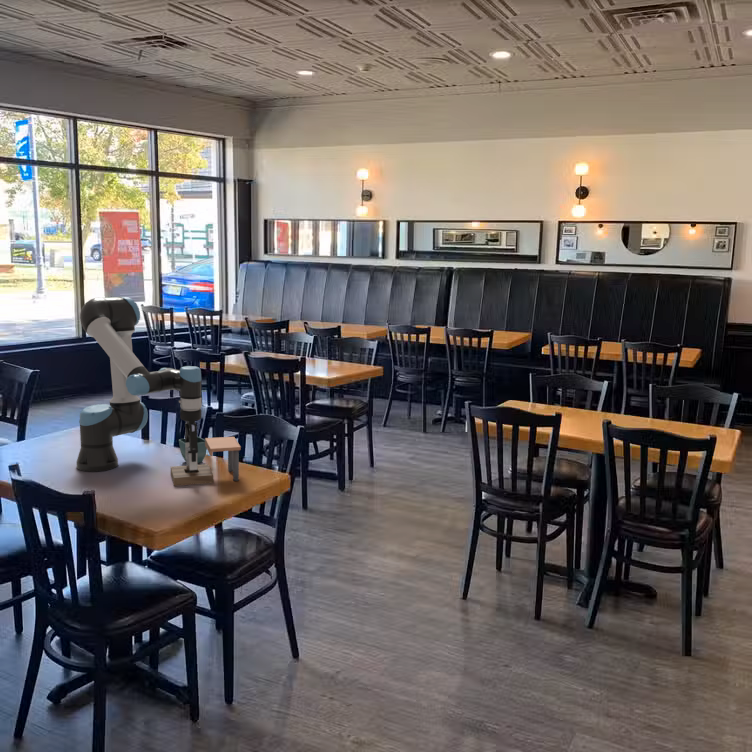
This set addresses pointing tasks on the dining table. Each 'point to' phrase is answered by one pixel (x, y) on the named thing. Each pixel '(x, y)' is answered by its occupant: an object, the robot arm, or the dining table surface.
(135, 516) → the dining table surface
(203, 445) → the flower pot
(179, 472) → the socket block
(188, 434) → the robot arm
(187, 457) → the peg
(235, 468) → the awning
